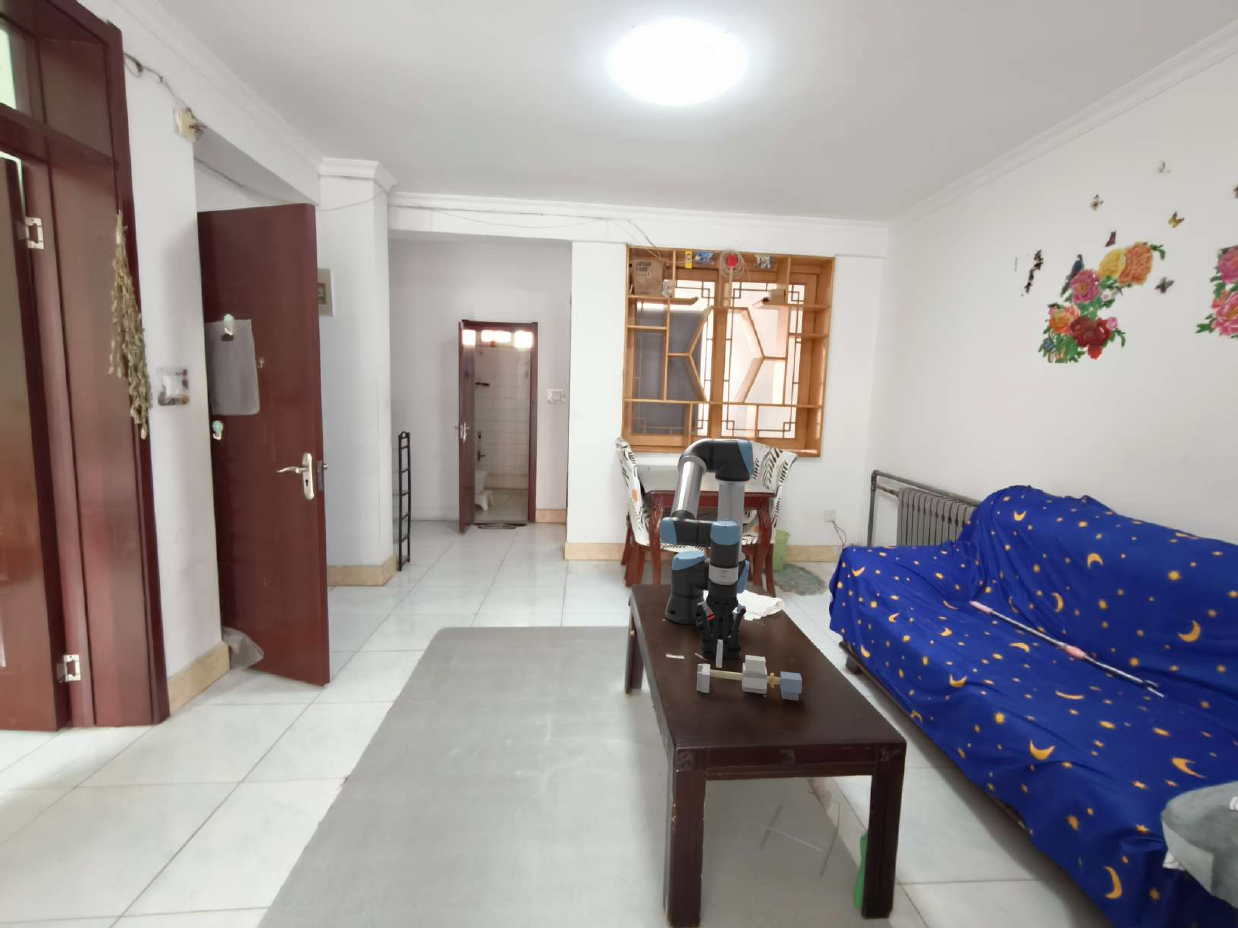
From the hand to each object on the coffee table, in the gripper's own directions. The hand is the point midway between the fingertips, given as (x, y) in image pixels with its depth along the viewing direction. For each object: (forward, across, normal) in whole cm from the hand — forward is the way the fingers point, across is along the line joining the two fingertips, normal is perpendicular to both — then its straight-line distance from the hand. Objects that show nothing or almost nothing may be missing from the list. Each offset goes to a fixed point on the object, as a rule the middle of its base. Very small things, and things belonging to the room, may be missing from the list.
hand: (718, 664), depth 146 cm
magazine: (+7, 0, +19) cm, 20 cm away
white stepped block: (+5, +9, 0) cm, 11 cm away
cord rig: (+7, +8, 0) cm, 10 cm away
